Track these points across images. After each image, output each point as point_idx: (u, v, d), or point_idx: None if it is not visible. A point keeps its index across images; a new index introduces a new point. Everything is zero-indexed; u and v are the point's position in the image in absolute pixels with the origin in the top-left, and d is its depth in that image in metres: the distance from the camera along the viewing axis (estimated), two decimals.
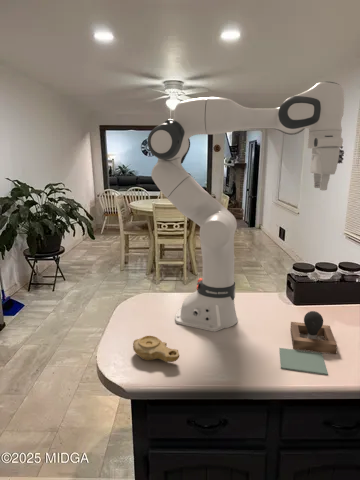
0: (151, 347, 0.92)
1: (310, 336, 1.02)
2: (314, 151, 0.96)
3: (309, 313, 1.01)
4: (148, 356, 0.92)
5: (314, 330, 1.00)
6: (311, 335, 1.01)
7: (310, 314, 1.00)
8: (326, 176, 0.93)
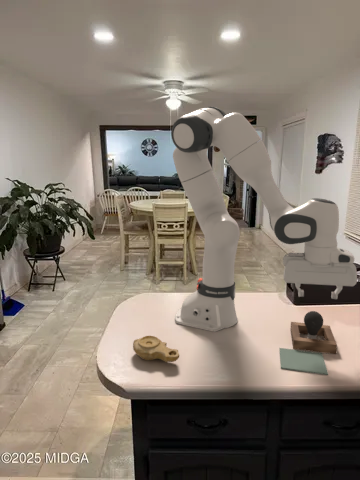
0: (151, 347, 0.92)
1: (310, 336, 1.02)
2: (326, 265, 0.94)
3: (309, 313, 1.01)
4: (148, 356, 0.92)
5: (314, 330, 1.00)
6: (311, 335, 1.01)
7: (310, 314, 1.00)
8: None
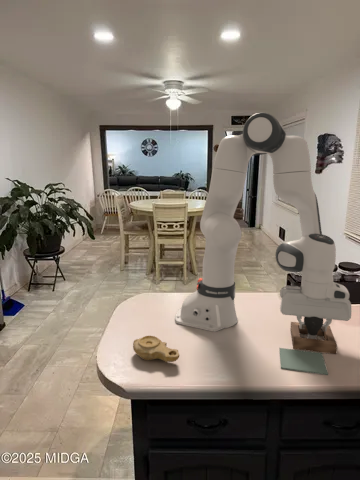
0: (151, 347, 0.92)
1: (310, 336, 1.02)
2: (322, 300, 0.97)
3: None
4: (148, 356, 0.92)
5: (314, 330, 1.00)
6: (311, 335, 1.01)
7: None
8: None
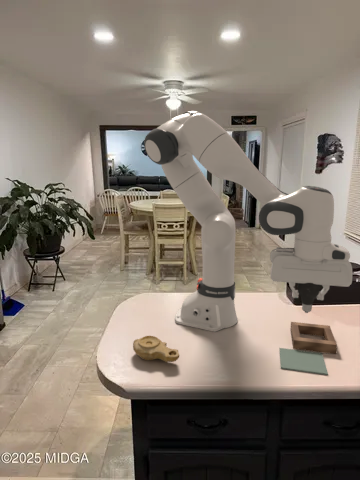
0: (151, 347, 0.92)
1: (305, 306, 0.88)
2: (318, 262, 0.83)
3: None
4: (148, 356, 0.92)
5: (310, 298, 0.86)
6: (306, 305, 0.88)
7: None
8: None
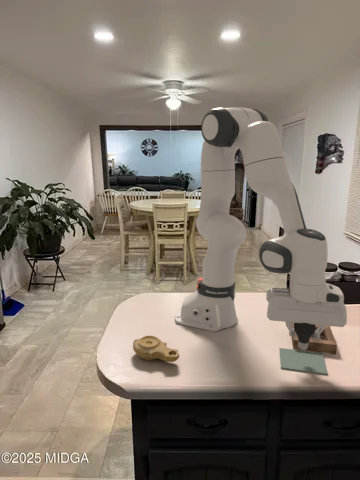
0: (151, 347, 0.92)
1: (301, 344, 0.90)
2: (313, 304, 0.85)
3: None
4: (148, 356, 0.92)
5: (305, 337, 0.88)
6: (302, 343, 0.90)
7: None
8: None
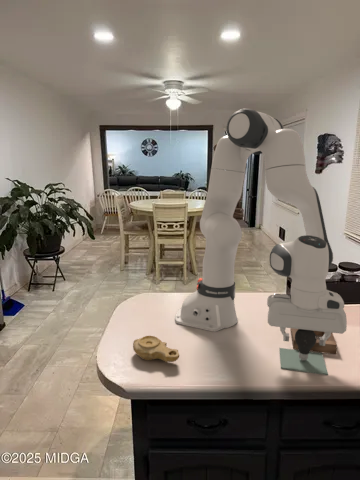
0: (151, 347, 0.92)
1: (301, 355, 0.91)
2: (314, 310, 0.86)
3: (301, 330, 0.90)
4: (148, 356, 0.92)
5: (306, 349, 0.89)
6: (302, 354, 0.91)
7: (302, 332, 0.89)
8: None
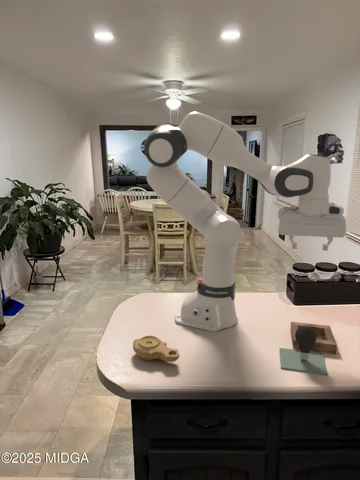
0: (151, 347, 0.92)
1: (302, 354, 0.91)
2: (318, 217, 1.01)
3: (301, 327, 0.91)
4: (148, 356, 0.92)
5: (307, 346, 0.90)
6: (303, 353, 0.91)
7: (302, 329, 0.90)
8: None
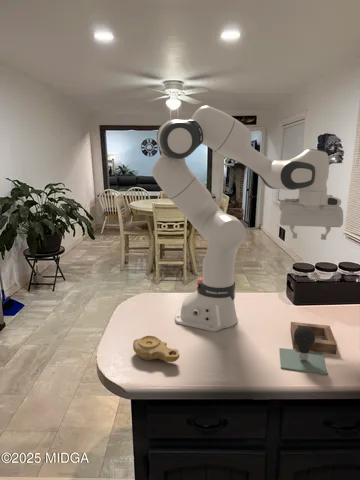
0: (151, 347, 0.92)
1: (301, 354, 0.91)
2: (317, 208, 1.08)
3: (299, 328, 0.91)
4: (148, 356, 0.92)
5: (306, 347, 0.90)
6: (303, 353, 0.91)
7: (300, 330, 0.90)
8: None
